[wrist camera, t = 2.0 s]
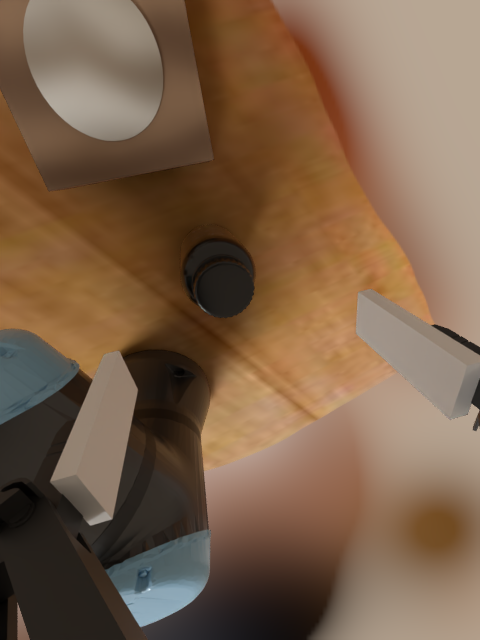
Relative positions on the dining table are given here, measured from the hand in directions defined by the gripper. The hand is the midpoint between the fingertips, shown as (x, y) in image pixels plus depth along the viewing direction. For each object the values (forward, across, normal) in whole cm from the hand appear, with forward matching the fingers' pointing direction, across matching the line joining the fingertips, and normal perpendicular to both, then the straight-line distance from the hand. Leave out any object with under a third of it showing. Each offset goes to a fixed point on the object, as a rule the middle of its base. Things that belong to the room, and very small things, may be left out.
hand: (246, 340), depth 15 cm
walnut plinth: (+19, +5, -16) cm, 25 cm away
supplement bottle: (+19, 0, 0) cm, 19 cm away
